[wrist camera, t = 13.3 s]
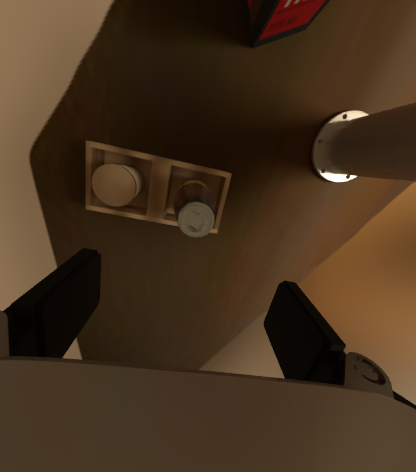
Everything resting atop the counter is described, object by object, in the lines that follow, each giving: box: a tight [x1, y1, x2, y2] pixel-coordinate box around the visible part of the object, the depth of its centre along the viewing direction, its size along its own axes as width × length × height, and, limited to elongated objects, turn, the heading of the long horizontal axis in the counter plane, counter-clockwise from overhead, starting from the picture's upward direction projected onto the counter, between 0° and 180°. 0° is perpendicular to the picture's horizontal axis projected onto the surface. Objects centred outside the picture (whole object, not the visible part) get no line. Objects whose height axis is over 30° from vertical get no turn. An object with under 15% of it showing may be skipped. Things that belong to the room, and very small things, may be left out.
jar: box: [92, 164, 146, 206], centre depth 34 cm, size 6×6×8 cm
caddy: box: [86, 140, 232, 233], centre depth 37 cm, size 24×11×6 cm, turn 78°
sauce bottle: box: [173, 179, 216, 238], centre depth 30 cm, size 7×6×20 cm
